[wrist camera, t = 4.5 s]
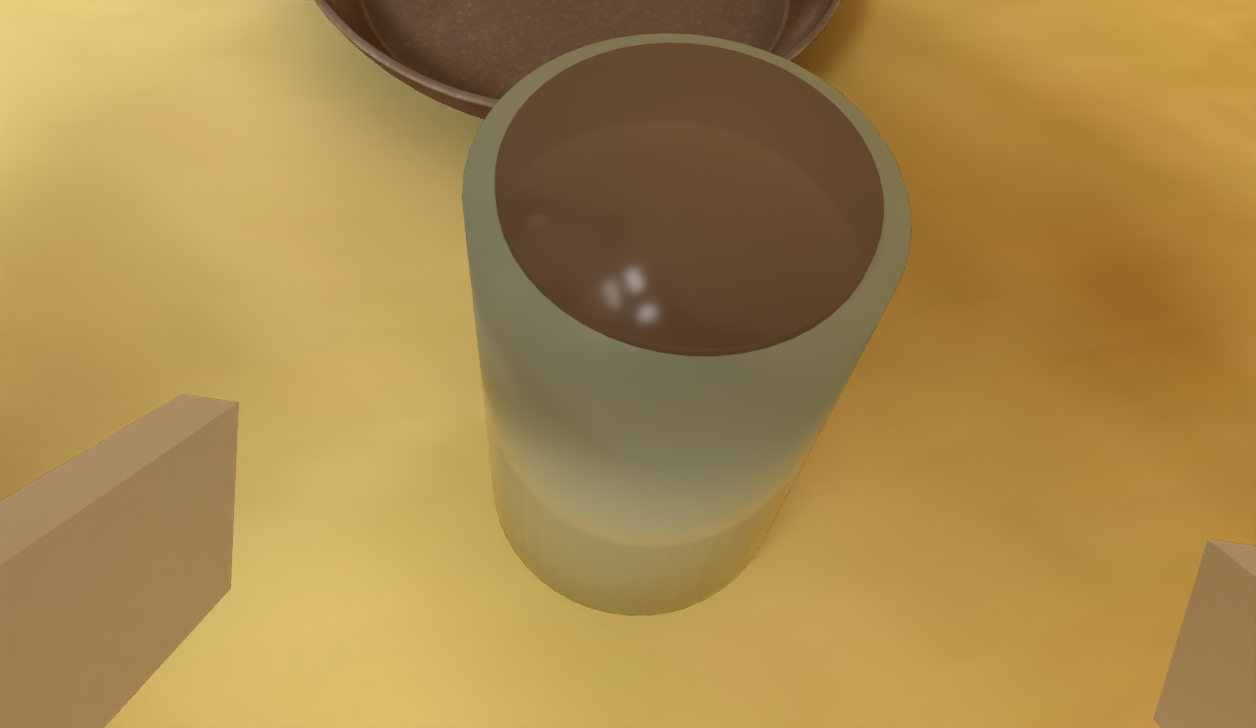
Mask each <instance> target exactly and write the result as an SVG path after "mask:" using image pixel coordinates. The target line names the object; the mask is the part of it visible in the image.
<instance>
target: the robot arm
mask: <svg viewBox="0 0 1256 728" xmlns="http://www.w3.org/2000/svg"><path fill="white" fill-rule="evenodd" d="M238 404H239V402H233V401H225V400H218V399H211V398H204V397H197V396H190V395H183V394H182V395H180V396H178V397H177V398H175V399H173V400H172V401H170V402H168V403H167V404H165V405H163V406H161V407H160V408H158V409H156V410H155V411H153V412H151V413H149V414H148V415H146V416H144V417H143V418H141V419H139V420H138V421H136V422H134V423H132V424H131V425H129V426H127V427H126V428H124V429H122V430H121V431H119V432H117V433H115V434H114V435H112V436H110V437H109V438H107V439H105V440H104V441H102V442H100V443H98V444H97V445H95V446H93V447H92V448H90V449H88V450H86V451H85V452H83V453H81V454H80V455H78V456H76V457H75V458H73V459H71V460H69V461H68V462H66V463H64V464H63V465H61V466H59V467H58V468H56V469H54V470H52V471H51V472H49V473H47V474H46V475H44V476H42V477H41V478H39V479H37V480H35V481H34V482H32V483H30V484H29V485H27V486H25V487H23V488H22V489H20V490H18V491H17V492H15V493H13V494H12V495H10V496H8V497H6V498H5V499H3V500H1V501H0V728H104V727H105V726H106V725H107V724H108V723H109V722H110V721H111V720H112V718H113V717H114V716H115V715H116V714H117V713H118V712H119V711H120V710H121V709H122V707H123V706H124V705H125V704H126V703H127V702H128V701H129V700H130V699H131V698H132V696H133V695H134V694H135V693H136V692H137V691H138V690H139V689H140V688H141V687H142V685H143V684H144V683H145V682H146V681H147V680H148V679H149V678H150V677H151V676H152V674H153V673H154V672H155V671H156V670H157V669H158V668H159V667H160V666H161V665H162V663H163V662H164V661H165V660H166V659H167V658H168V657H169V656H170V655H171V654H172V652H173V651H174V650H175V649H176V648H177V647H178V646H179V645H180V644H181V643H182V641H183V640H184V639H185V638H186V637H187V636H188V635H189V634H190V633H191V632H192V630H193V629H194V628H195V627H196V626H197V625H198V624H199V623H200V622H201V621H202V619H203V618H204V617H205V616H206V615H207V614H208V613H209V612H210V611H211V610H212V608H213V607H214V606H215V605H216V604H217V603H218V602H219V601H220V600H221V599H222V597H223V596H224V595H225V594H226V593H227V592H228V591H229V590H230V589H231V568H232V545H233V521H234V498H235V474H236V451H237V427H238ZM1154 720H1155V721H1156V722H1157V723H1158V725H1159V726H1160V727H1161V728H1256V546H1254V545H1247V544H1240V543H1232V542H1225V541H1218V540H1211V539H1208V540H1207V544H1206V547H1205V550H1204V554H1203V557H1202V560H1201V564H1200V567H1199V570H1198V574H1197V577H1196V580H1195V584H1194V587H1193V590H1192V594H1191V597H1190V600H1189V604H1188V607H1187V610H1186V614H1185V617H1184V620H1183V624H1182V627H1181V630H1180V634H1179V637H1178V640H1177V644H1176V647H1175V650H1174V653H1173V657H1172V660H1171V663H1170V667H1169V670H1168V673H1167V677H1166V680H1165V683H1164V687H1163V690H1162V693H1161V697H1160V700H1159V703H1158V707H1157V710H1156V713H1155V717H1154Z"/></svg>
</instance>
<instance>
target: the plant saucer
mask: <svg viewBox="0 0 1256 728" xmlns="http://www.w3.org/2000/svg"><path fill="white" fill-rule="evenodd" d="M841 1H842V0H315V2H316V3H317V5H318V6H319V7H320V9H321V10H322V11H323V13H324V14H325V15H326V17H327V18H328V19H329V20H330V21H331V22H332V23H333V24H334V25H335V26H336V27H337V28H338V29H339V30H340V31H341V32H342V33H343V34H344V35H345V36H346V37H347V38H348V39H349V40H350V41H351V42H352V43H353V44H354V45H355V46H356V47H357V48H358V49H360V50H361V51H362V52H363V53H364V54H365V55H367V56H368V57H369V58H370V59H372V60H373V61H374V62H375V63H377V64H378V65H379V66H381V67H382V68H383V69H384V70H386V71H387V72H389V73H390V74H392V75H393V76H395V77H396V78H398V79H399V80H401V81H402V82H404V83H406V84H407V85H409V86H411V87H412V88H414V89H416V90H417V91H419V92H421V93H423V94H425V95H427V96H428V97H430V98H432V99H434V100H436V101H438V102H441V103H443V104H445V105H448V106H450V107H453V108H455V109H457V110H460V111H462V112H465V113H467V114H470V115H473V116H476V117H479V118H482V119H486V117H487V115H488V114H489V112H490V111H491V110H492V109H493V107H494V106H495V105H496V104H497V103H498V102H499V100H500V99H501V98H502V97H503V96H504V95H505V94H506V93H507V92H508V91H509V90H510V89H511V88H512V87H514V86H515V85H516V84H517V83H518V82H519V81H520V80H521V79H523V78H524V77H526V76H527V75H529V74H530V73H531V72H533V71H534V70H536V69H537V68H539V67H540V66H542V65H544V64H546V63H548V62H550V61H551V60H553V59H555V58H557V57H559V56H561V55H563V54H565V53H568V52H571V51H573V50H576V49H579V48H582V47H584V46H587V45H590V44H594V43H598V42H602V41H606V40H610V39H614V38H621V37H627V36H634V35H644V34H662V33H668V34H692V35H699V36H707V37H715V38H720V39H725V40H729V41H734V42H738V43H742V44H746V45H749V46H752V47H755V48H758V49H761V50H764V51H767V52H770V53H772V54H774V55H777V56H779V57H782V58H784V59H786V60H789V61H792V60H793V59H794V58H795V57H797V56H798V55H799V54H800V53H801V52H802V51H803V50H805V49H806V48H807V47H808V46H809V45H810V44H811V43H812V42H813V41H814V40H815V39H816V38H817V36H818V35H819V34H820V33H821V32H822V31H823V29H824V28H825V27H826V26H827V24H828V23H829V21H830V20H831V18H832V17H833V15H834V14H835V12H836V10H837V9H838V7H839V5H840V3H841Z"/></svg>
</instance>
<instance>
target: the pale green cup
mask: <svg viewBox="0 0 1256 728" xmlns="http://www.w3.org/2000/svg"><path fill="white" fill-rule="evenodd" d="M462 202H463V212H464V221H465V231H466V240H467V249H468V258H469V268H470V277H471V286H472V295H473V304H474V314H475V323H476V332H477V341H478V350H479V360H480V369H481V378H482V387H483V397H484V406H485V415H486V424H487V433H488V443H489V452H490V461H491V470H492V480H493V489H494V498H495V505H496V509H497V513H498V517H499V520H500V523H501V525H502V528H503V530H504V533H505V535H506V537H507V539H508V541H509V542H510V544H511V546H512V547H513V549H514V551H515V552H516V554H517V555H518V556H519V558H520V559H521V560H522V561H523V563H524V564H525V565H526V567H527V568H528V569H529V570H530V571H531V572H532V573H534V574H535V575H536V576H537V577H538V578H539V579H540V580H541V581H542V582H544V583H545V584H546V585H548V586H549V587H550V588H552V589H553V590H554V591H556V592H557V593H559V594H561V595H563V596H565V597H566V598H568V599H570V600H572V601H574V602H576V603H579V604H581V605H584V606H586V607H589V608H592V609H596V610H599V611H603V612H607V613H613V614H621V615H629V616H637V615H656V614H663V613H669V612H673V611H676V610H680V609H683V608H687V607H689V606H692V605H694V604H696V603H699V602H701V601H703V600H705V599H707V598H709V597H710V596H712V595H714V594H715V593H717V592H719V591H720V590H721V589H723V588H724V587H725V586H726V585H728V584H729V583H730V582H731V581H733V580H734V579H735V578H736V577H737V576H738V575H739V574H740V572H741V571H742V570H743V569H744V568H745V567H746V566H747V565H748V563H749V562H750V560H751V559H752V557H753V556H754V554H755V553H756V552H757V550H758V548H759V546H760V544H761V542H762V540H763V538H764V537H765V535H766V533H767V531H768V529H769V527H770V525H771V523H772V522H773V520H774V518H775V516H776V514H777V512H778V510H779V508H780V506H781V505H782V503H783V501H784V499H785V497H786V495H787V493H788V491H789V490H790V488H791V486H792V484H793V482H794V480H795V478H796V476H797V474H798V473H799V471H800V469H801V467H802V465H803V463H804V461H805V459H806V458H807V456H808V454H809V452H810V450H811V448H812V446H813V444H814V442H815V441H816V439H817V437H818V435H819V433H820V431H821V429H822V427H823V426H824V424H825V422H826V420H827V418H828V416H829V414H830V412H831V410H832V409H833V407H834V405H835V403H836V401H837V399H838V397H839V395H840V394H841V392H842V390H843V388H844V386H845V384H846V382H847V380H848V378H849V377H850V375H851V373H852V371H853V369H854V367H855V365H856V363H857V362H858V360H859V358H860V356H861V354H862V352H863V350H864V348H865V346H866V345H867V343H868V341H869V339H870V337H871V335H872V333H873V331H874V330H875V328H876V326H877V324H878V322H879V320H880V318H881V316H882V314H883V313H884V311H885V309H886V307H887V305H888V303H889V301H890V299H891V298H892V296H893V293H894V291H895V289H896V287H897V285H898V283H899V281H900V279H901V277H902V275H903V271H904V268H905V264H906V261H907V258H908V254H909V247H910V238H911V214H910V205H909V200H908V195H907V191H906V186H905V183H904V180H903V178H902V175H901V172H900V170H899V167H898V164H897V162H896V160H895V159H894V157H893V155H892V153H891V151H890V149H889V148H888V146H887V144H886V142H885V141H884V140H883V138H882V137H881V135H880V134H879V133H878V131H877V130H876V129H875V127H874V126H873V124H872V123H871V122H870V121H869V120H868V119H867V118H866V117H865V116H864V115H863V113H862V112H861V111H860V110H859V109H858V108H857V107H856V106H855V105H854V104H853V103H852V102H850V101H849V100H848V99H847V98H846V97H845V96H843V95H842V94H841V93H840V92H839V91H838V90H836V89H835V88H834V87H832V86H831V85H829V84H828V83H826V82H825V81H823V80H822V79H821V78H819V77H818V76H816V75H815V74H813V73H811V72H809V71H808V70H806V69H804V68H802V67H800V66H798V65H797V64H795V63H793V62H791V61H789V60H786V59H784V58H782V57H779V56H777V55H774V54H772V53H770V52H767V51H764V50H761V49H758V48H755V47H752V46H749V45H746V44H742V43H738V42H734V41H729V40H725V39H720V38H715V37H707V36H699V35H692V34H668V33H662V34H644V35H634V36H627V37H621V38H614V39H610V40H606V41H602V42H598V43H594V44H590V45H587V46H584V47H582V48H579V49H576V50H573V51H571V52H568V53H565V54H563V55H561V56H559V57H557V58H555V59H553V60H551V61H550V62H548V63H546V64H544V65H542V66H540V67H539V68H537V69H536V70H534V71H533V72H531V73H530V74H529V75H527V76H526V77H524V78H523V79H521V80H520V81H519V82H518V83H517V84H516V85H515V86H514V87H512V88H511V89H510V90H509V91H508V92H507V93H506V94H505V95H504V96H503V97H502V98H501V99H500V100H499V102H498V103H497V104H496V105H495V106H494V107H493V109H492V110H491V111H490V112H489V114H488V115H487V117H486V119H485V120H484V122H483V123H482V125H481V127H480V128H479V130H478V132H477V134H476V136H475V139H474V141H473V143H472V146H471V148H470V150H469V154H468V158H467V162H466V166H465V170H464V176H463V190H462Z"/></svg>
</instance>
